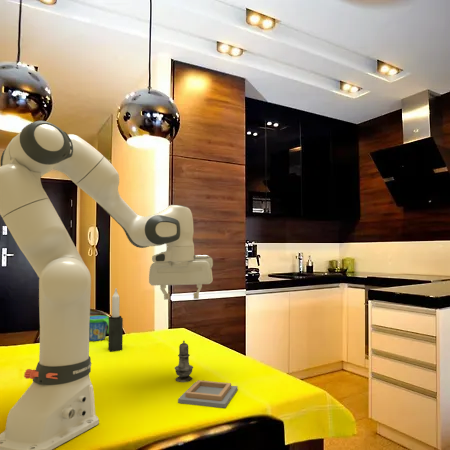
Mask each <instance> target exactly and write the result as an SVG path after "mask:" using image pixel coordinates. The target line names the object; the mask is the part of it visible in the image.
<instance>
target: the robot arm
mask: <svg viewBox="0 0 450 450" xmlns="http://www.w3.org/2000/svg"><path fill="white" fill-rule="evenodd" d="M52 170H54V171H58V172H60V173H62V174H64V175H66V176H67V178H69V180H70V181H72V183H74V184H75V185H76V186H77V187H78V188H79V189H80V190H82V191H83V192H84V193H85V194H86V195H87V196H88V197H90V198H92V200H94V201H95V202H96V203H97V204H98V205H99V206H100V207H101V208H102V209H103V210H104V211H105V212H106V213H107V214H108V215H109V216H110V217H111V218H112V219H113V220H114V221H115V222H116V223H117V224H118V225H119V226H120V227H121V228H122V230H123V232H124V234H125V236H126V238H127V239H128V241H129V243H130V244H131V245H133V246H134V247H136V248H139V249H140V248H141V249H144V248H149V247H159V246H163V245H165V246H166V251H162V252H159V253H156V254H155V255H152V257H151V260H152V262H153V263H151V265H150V268H149V271H148V272H149V274H148V283H149V284H150V286H160V287H159V289H160V291H161V292H162V294H163V299H164V300H170V299H171V298H170V297H171V296H170V293H167V290H166V288H167V286H181V285H182V286H183V285H184V286H185V285H186V286H187V285H196V288H197V290H196V292H194V293H192V296H193V299H194V300H195V299H196V300H199V298H200V297H199V295H200V294H199V293H200V291H201V290H202V288H203V285H210V284H211V283H212V282H213V277H214V276H213V270H212V268H213V266H214V259H213V257H211V256H209V255H208V254H203V255H201V254H195V244H194V241H193V237H194V232H195V231H194V219H193V213H192V211H191V209H190V208H189V207H188V206H186V205H182V204H181V205H180V204H171V205H168V206H167V207H166V208H165V209H163V210H161V211H159V212H156V213H154V214H152V215H148V216H143V215H139V214H138V213H136V212H135V210H134V209H133V208H132V207H130V205H128V203H127V202H126V201H125V200H124V199H123V197H121V195H120V192H119V185H120V174H119V172H118V170H117V169H116V168H115V166H114V165H113V164H112V163H111V162H110V161H109V160H108V158H107V157H105V156H104V155H103V154H102V153H101V152H100V151H99V150H98V149H96V148H95V147H94V146H92V144H90V143H88V142H87V141H86V140H85V139H83V138H81V136H79V135H76V134H73V133H69V134H68V133H67V132H66V131H64V130H62V129H61V128H60V127H59V126H57V125H56V124H53V122H49V121H45V120H37V121H33V122H31V123H28V124H27V125H26V126H24V127H23V128H22V129H21V131H20V132H19V133H18V134H17V135H16V136H14V137H13V138H12V139H11V141H9V143H8V144H7V146H6V148H5V149H4V150H3V152H2V154H1V156H0V217H1V218H2V221H3V222H4V224H5V225H6V227H7V229H8V231H9V232H10V234H11V236H12V238H13V239H14V242H15V243H16V244H17V246H18V248H19V250H20V251H21V252H22V254H23V255H24V257H25V258H26V260H27V261H28V263H29V264H30V266H31V267H32V269H33V270H34V272H35V273H36V275H37V278H39V279H38V289H39V290H38V298H39V299H38V307H39V312H38V313H39V354H38V355H39V358H38V359H39V361H38V362H37V364H36V367H35V369H32V368H31V369H30V368H27V369H26V370H25V372H23V373H24V374H23V377H24V378H25V379H30V380H32V383H31V384H30V386H29V387H28V388H27V389H26V390H25V392H23V394H22V395H21V397H20V398H19V399H18V400H17V402H15V404H14V405H13V406H12V408H10V410H9V413H8V415H7V418H6V423H5V430H4V431H2V432H1V433H0V450H54V449H55V448H57V447H59V446H62V445H63V444H65V443H67V442H68V441H70V440H72V439H74V438H75V437H77V436H79V435H81V434H83V433H85V432H87V431H88V430H90V429H92V428H93V427H95V426H97V425H99V423H100V421H99V417H98V416H97V414H96V406H95V393H94V386H93V384H92V381H91V378H90V373H91V370H92V367H91V366H92V362H91V356H90V340H89V322H90V316H91V298H92V297H91V296H92V295H91V292H92V289H91V288H92V276H91V273H90V272H91V271H90V270H89V268H88V267H87V265H86V263H85V262H84V259H83V258H82V256H81V254H80V252H79V251H78V249H77V247H76V246H75V243H74V242H73V240H72V238H71V236H70V234H69V232H68V230H67V229H66V227H65V225H64V223H63V221H62V219H61V217H60V216H59V214H58V212H57V210H56V209H55V207H54V205H53V203H52V202H51V200H50V198H49V196H48V195H47V194H48V193H47V192H46V191H45V189H44V188H43V185H42V181H41V180H42V179H41V178H42V177H43V176H45V175H46V174H48V173H49V172H51V171H52Z"/></svg>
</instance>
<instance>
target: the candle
mask: <svg viewBox="0 0 450 450" xmlns="http://www.w3.org/2000/svg"><path fill="white" fill-rule="evenodd" d="M111 298H112V299H111V316H109V334H107V335H108V336H107V337H108V339H107V340H108V342H107V343H108V345H107V347H108V348H107V349H108V350H109V352H112V353H113V352H120V350H121V351H123V341H124V340H123V336H124V335H123V328H124V327H123V326H124V325H123V323H124V322H123V321H124V320H123V319H124V318H123V317H122V315H120V295H119V293H118V288H114V293H113V295H112V296H111Z"/></svg>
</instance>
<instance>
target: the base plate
mask: <svg viewBox="0 0 450 450" xmlns="http://www.w3.org/2000/svg"><path fill="white" fill-rule="evenodd" d="M238 388H239V387H238V385H232V383H230V382H223V381H222V382H220V381H219V382H218V381H209V380H201V379H200V380H197V381H196V382H194V383H193V384H192V385H191V386H190V387H189V388H188V389H187V390H186V391H185V392H184V393H182V395H180V397H179V398H177V403H178V404H185V405H192V406H193V405H195V406H200V407H201V406H202V407H211V408H220V409H226V407H227V406H228V405H229V404H230V402H231V400H232V399H233V397H234V396H235V394H236V393H237V391H238Z"/></svg>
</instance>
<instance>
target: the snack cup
mask: <svg viewBox="0 0 450 450" xmlns="http://www.w3.org/2000/svg"><path fill="white" fill-rule="evenodd" d="M109 318H110V316H108V315H90V322H89V342H90V341H91V342H93V341H94V342H96V341H97V342H99V341H103V340H105V338H106V335H109Z"/></svg>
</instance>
